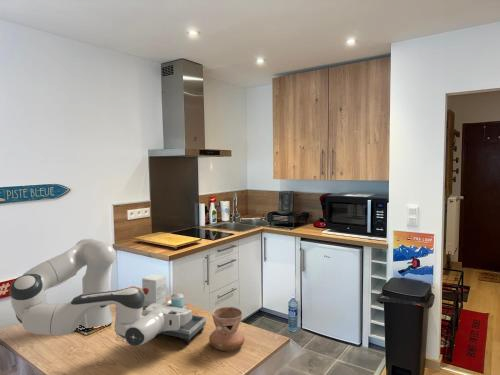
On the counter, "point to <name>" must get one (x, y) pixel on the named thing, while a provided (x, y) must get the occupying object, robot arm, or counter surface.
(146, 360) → the counter surface
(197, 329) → the shallow tray
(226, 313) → the ceramic jug
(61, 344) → the counter surface
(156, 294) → the supplement box
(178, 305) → the tin
